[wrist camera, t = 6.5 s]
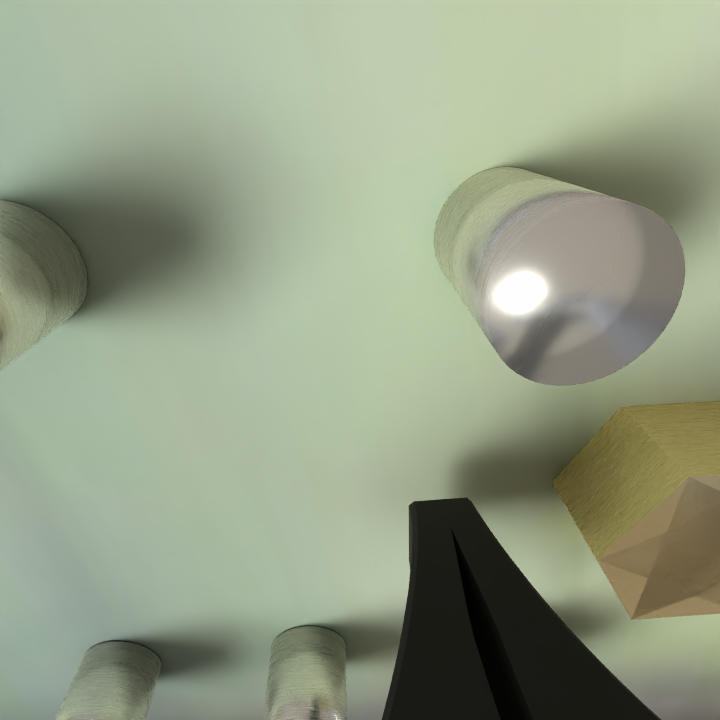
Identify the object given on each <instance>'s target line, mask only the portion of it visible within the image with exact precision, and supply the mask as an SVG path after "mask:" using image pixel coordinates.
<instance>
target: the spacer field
mask: <svg viewBox="0 0 720 720" xmlns="http://www.w3.org/2000/svg"><path fill="white" fill-rule="evenodd" d="M434 249H435V254H436V258H437V261H438V263H439V266H440V268H441V270H442V271H443V273H444V274H445V276H446V277H447V279H448V280H449V281H450V283H451V284H452V286H453V287H454V289H455V290H456V292H457V293H458V295H459V296H460V298H461V299H462V301H463V302H464V304H465V305H466V307H467V308H468V310H469V311H470V313H471V314H472V316H473V317H474V319H475V320H476V322H477V323H478V325H479V326H480V328H481V329H482V331H483V332H484V334H485V335H486V337H487V338H488V340H489V341H490V343H491V344H492V346H493V347H494V349H495V350H496V352H497V353H498V355H499V356H500V358H501V359H502V360H503V361H504V362H505V363H506V364H507V366H508V367H509V368H511V369H512V370H513V371H515V372H516V373H517V374H519V375H521V376H523V377H525V378H527V379H529V380H532V381H535V382H538V383H543V384H548V385H575V384H582V383H586V382H590V381H594V380H597V379H600V378H602V377H605V376H607V375H609V374H612V373H614V372H616V371H617V370H619V369H621V368H623V367H624V366H626V365H628V364H629V363H630V362H632V361H633V360H635V359H636V358H637V357H639V356H640V355H641V354H642V353H643V352H644V351H646V350H647V349H648V348H649V347H650V346H651V345H652V344H653V343H654V342H655V341H656V339H657V338H658V337H659V336H660V334H661V333H662V332H663V331H664V329H665V328H666V326H667V324H668V323H669V321H670V320H671V318H672V316H673V314H674V312H675V310H676V308H677V306H678V303H679V300H680V297H681V294H682V290H683V285H684V277H685V261H684V255H683V251H682V247H681V244H680V242H679V239H678V237H677V235H676V234H675V232H674V231H673V229H672V227H671V226H670V225H669V224H668V223H667V222H666V221H665V220H664V219H663V218H662V217H661V216H659V215H658V214H657V213H655V212H654V211H652V210H650V209H648V208H646V207H644V206H641V205H638V204H635V203H632V202H629V201H625V200H622V199H619V198H616V197H612V196H609V195H606V194H602V193H599V192H596V191H593V190H589V189H586V188H583V187H579V186H576V185H573V184H570V183H566V182H563V181H560V180H557V179H553V178H550V177H547V176H543V175H540V174H537V173H534V172H530V171H527V170H524V169H521V168H515V167H498V168H492V169H489V170H485V171H483V172H480V173H478V174H476V175H474V176H472V177H471V178H469V179H468V180H466V181H465V182H464V183H462V184H461V185H460V186H459V187H458V188H457V189H456V190H455V191H454V192H453V193H452V194H451V195H450V197H449V198H448V199H447V201H446V202H445V204H444V206H443V208H442V210H441V212H440V214H439V216H438V219H437V222H436V227H435V232H434ZM87 287H88V278H87V271H86V268H85V264H84V261H83V259H82V257H81V254H80V253H79V251H78V249H77V247H76V246H75V244H74V243H73V241H72V240H71V239H70V238H69V236H68V235H67V234H66V233H65V232H64V231H63V230H62V229H61V228H60V227H59V226H58V225H57V224H56V223H54V222H53V221H52V220H50V219H49V218H48V217H46V216H44V215H43V214H41V213H40V212H38V211H36V210H34V209H32V208H29V207H27V206H24V205H21V204H18V203H14V202H10V201H2V200H0V371H1V370H2V369H4V368H5V367H6V366H8V365H9V364H10V363H12V362H13V361H14V360H15V359H17V358H18V357H19V356H21V355H22V354H23V353H24V352H26V351H27V350H28V349H30V348H31V347H32V346H34V345H35V344H36V343H37V342H39V341H40V340H41V339H43V338H44V337H45V336H47V335H48V334H49V333H50V332H52V331H53V330H54V329H56V328H57V327H58V326H60V325H61V324H62V323H63V322H65V321H66V320H67V319H69V318H70V317H71V316H72V315H74V314H75V313H76V312H77V311H78V309H79V308H80V307H81V305H82V303H83V302H84V299H85V296H86V293H87ZM161 667H162V664H161V661H160V659H159V657H158V656H157V655H156V654H155V653H154V652H152V651H151V650H149V649H147V648H145V647H143V646H140V645H137V644H134V643H129V642H117V641H116V642H105V643H101V644H98V645H95V646H93V647H92V648H90V649H89V650H88V651H87V652H86V653H85V655H84V657H83V659H82V662H81V664H80V666H79V668H78V670H77V672H76V674H75V677H74V679H73V681H72V683H71V685H70V687H69V690H68V692H67V694H66V696H65V698H64V700H63V702H62V705H61V707H60V709H59V711H58V713H57V715H56V718H55V720H145V719H146V716H147V712H148V709H149V706H150V703H151V700H152V696H153V693H154V690H155V687H156V684H157V681H158V677H159V674H160V671H161ZM263 720H347V697H346V645H345V642H344V640H343V639H342V637H341V636H340V635H338V634H337V633H335V632H333V631H331V630H329V629H326V628H321V627H315V626H305V627H298V628H293V629H290V630H287V631H285V632H283V633H282V634H280V635H279V636H278V637H276V639H275V640H274V641H273V643H272V647H271V655H270V663H269V672H268V680H267V688H266V696H265V705H264V713H263Z"/></svg>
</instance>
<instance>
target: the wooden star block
mask: <svg viewBox="0 0 720 720" xmlns="http://www.w3.org/2000/svg"><path fill="white" fill-rule="evenodd" d="M552 483H553V484H554V486H555V488H556V490H557V491H558V493H559V495H560V497H561V498H562V500H563V502H564V504H565V505H566V507H567V509H568V511H569V512H570V514H571V516H572V518H573V519H574V521H575V523H576V525H577V526H578V528H579V530H580V532H581V533H582V535H583V537H584V539H585V540H586V542H587V544H588V546H589V547H590V549H591V551H592V552H593V554H594V556H595V558H596V559H597V561H598V563H599V564H600V566H601V568H602V570H603V571H604V573H605V575H606V576H607V578H608V580H609V582H610V583H611V585H612V587H613V589H614V590H615V592H616V594H617V595H618V597H619V599H620V601H621V602H622V604H623V606H624V607H625V609H626V611H627V613H628V614H629V616H630V618H631V619H645V618H660V617H675V616H689V615H704V614H719V613H720V401H713V402H696V403H679V404H662V405H645V406H628V407H621V408H620V409H619V410H618V411H617V412H616V413H615V414H614V415H613V417H612V418H611V419H610V420H609V421H608V422H607V423H606V424H605V425H604V426H603V427H602V428H601V429H600V430H599V432H598V433H597V434H596V435H595V436H594V437H593V438H592V439H591V440H590V441H589V442H588V443H587V444H586V445H585V447H584V448H583V449H582V450H581V451H580V452H579V453H578V454H577V455H576V456H575V457H574V458H573V459H572V460H571V462H570V463H569V464H568V465H567V466H566V467H565V468H564V469H563V470H562V471H561V472H560V473H559V474H558V476H557V477H556V478H555V479H554V480H553V481H552Z"/></svg>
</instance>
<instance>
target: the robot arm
mask: <svg viewBox="0 0 720 720" xmlns="http://www.w3.org/2000/svg"><path fill="white" fill-rule="evenodd" d="M409 562H410V581H409V590H408V597H407V604H406V610H405V616H404V622H403V629H402V634H401V639H400V644H399V650H398V654H397V659H396V664H395V668H394V673H393V677H392V681H391V686H390V690H389V694H388V698H387V702H386V705H385V709H384V713H383V717H382V720H661V719H660V718H659V717H658V716H656V715H655V714H654V713H653V712H652V711H651V710H650V709H649V708H648V707H646V706H645V705H644V704H643V703H642V702H641V701H640V700H639V699H638V698H637V697H636V696H635V695H634V694H633V693H632V692H631V691H630V690H629V689H628V688H627V687H626V686H624V685H623V684H622V683H621V682H620V681H619V680H618V679H617V678H616V677H615V676H614V675H613V674H612V673H611V672H610V671H609V670H608V669H607V668H606V667H605V666H604V665H603V664H602V663H601V662H600V661H599V660H598V659H597V658H596V656H595V655H594V654H593V653H592V652H591V651H590V650H589V649H588V648H587V647H586V646H585V645H584V644H583V643H582V642H581V641H580V640H579V639H578V638H577V637H576V635H575V634H574V633H573V632H572V631H571V630H570V629H569V628H568V627H567V626H566V624H565V623H564V622H563V621H562V620H561V619H560V618H559V616H558V615H557V614H556V613H555V612H554V611H553V610H552V608H551V607H550V606H549V605H548V604H547V603H546V602H545V600H544V599H543V598H542V597H541V596H540V594H539V593H538V592H537V591H536V590H535V588H534V587H533V586H532V585H531V583H530V582H529V581H528V580H527V578H526V577H525V576H524V574H523V573H522V572H521V571H520V569H519V568H518V567H517V566H516V564H515V563H514V562H513V561H512V559H511V558H510V557H509V555H508V554H507V553H506V551H505V550H504V549H503V547H502V546H501V544H500V543H499V542H498V540H497V539H496V538H495V536H494V535H493V533H492V532H491V531H490V529H489V528H488V526H487V525H486V523H485V522H484V520H483V519H482V517H481V516H480V514H479V513H478V511H477V510H476V508H475V507H474V505H473V503H472V502H471V501H470V500H469V499H468V498H454V499H441V500H428V501H415V502H413V503H412V504H410V505H409Z"/></svg>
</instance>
